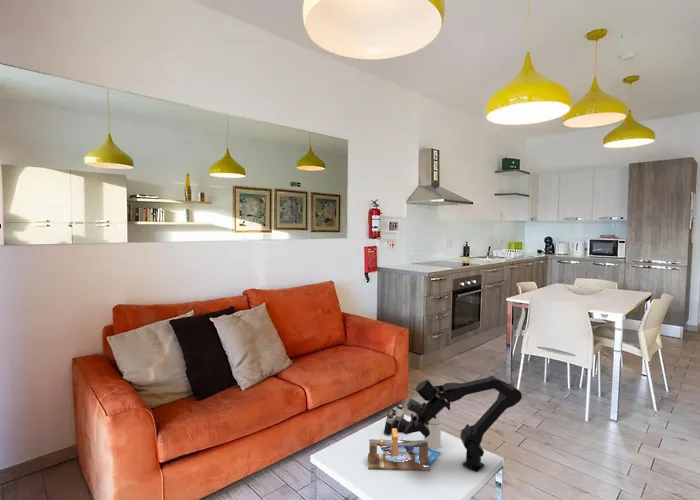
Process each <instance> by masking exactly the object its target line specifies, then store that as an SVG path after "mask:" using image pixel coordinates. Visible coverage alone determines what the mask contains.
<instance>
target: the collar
mask: <svg viewBox="0 0 700 500" xmlns="http://www.w3.org/2000/svg"><path fill="white" fill-rule="evenodd" d="M391 440H393V446H391V452H392V453H391V454H393V456H398V454H399V446H398V440H399V435H398V430H397V428H392V433H391Z"/></svg>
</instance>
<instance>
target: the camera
mask: <svg viewBox="0 0 700 500" xmlns="http://www.w3.org/2000/svg"><path fill="white" fill-rule="evenodd" d="M403 406H404V405H402V404H398V405H397V407H396V406H395V407H393V408H392V410H391V411H388V412H387V413H386V419H385V424H384V430H383V433H384V435H385V436H388V437H389V436H390V435H392V428H397V431H398V430H400V431H403V432H404V431H405V429H406V428H407V426H408V424H409V423H410V420H407V419H405V408H404V407H403Z"/></svg>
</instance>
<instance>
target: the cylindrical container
mask: <svg viewBox="0 0 700 500" xmlns="http://www.w3.org/2000/svg"><path fill="white" fill-rule="evenodd" d="M427 402H429V401H425V400H424V403H427ZM428 427H429V430H430V435H429V436H428V437H427V438H426V437H425V436H424V441H427V442H428V449H429V448H430V449H434V450H436V449H440V447H441V445H442V444H441V442H442V439H441V438H442V437H441V435H442V410H441V411H440V412H439V413H438V414H437V415H436V418H435V419H434V418H432V419H431V420H430V421H429V425H428Z"/></svg>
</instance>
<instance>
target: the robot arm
mask: <svg viewBox="0 0 700 500" xmlns="http://www.w3.org/2000/svg"><path fill="white" fill-rule="evenodd" d="M493 389H494V390H496V391H497V392H498V395H497V399H496V400H495V401H494V402H492V404H491V406H489V408H488V409H487V410H486V411H485V412H484V413H483V414H482V415H481V417H480V418H479V419H478V420H477V421H476V422H475V423H474V424H473V425H469V424H468V423H467V424H466V425H465V427H464V428H463V429H461V432H460V435H459V436H460V438H459V439H460V440H461V443H462V445H463V447H464V448H465V450H466V454H465V455H466V456H465V461H464V462H462V465H463V466H464V467H466V468H468V469H470V470H472V471H474V472H476V473H477V472H479V471H480V470H481V469H482V468H483V467H484V466H485V464H484V463H482V457H483V456H484V454H485V451H484V449H483V448H482V446H481V443H482V441H483V438H484V437H483V436H484V434H486V432H487V431H488V430H489V429H490V428H491V427H492V426H493V424H494V423H495V422H496V421H497V420H498V419H499V418H500V417H501V415H503V413H504V412H505V411H506V410H508V409H509V408H512V407H514V406H516V405H517V404H518V403H520V402H521V401H522V399H523V398H522V396H523V395H522V392H521V391H520V390H519V389H518V388H517V387H516V386H515V384H513V383H509V382H508V383H507V382H505V381H503V380H502V379H499V378H497V377H496V376H494V375H490V376H488V377H485V378H480V379H476V380H471V381H467V382H463V383H460V382H445V383H444V384H442V385H434V384H432V382H431V381H430V380H429V379H426V380H423V381H421V382H419V383H418V384H417V385H416V387H415V391H416V392H417V394H418V395H419V396H420V397H421V398H422V399H423V400H424V402H423V403H420V402H419V401H416V400H415V399H413V398H409V399H408V402H407V404H406V407H407V408H406V409H407V410H408V411H410V412H413V413H410V420H409V422H410V423H409V424H408V426H407V428H406V429H405V431H403V433H404V434H405V435H409V434H414V433H418V432H420V433H421V434H422V436H423V437H424V438H425V437H426V438H427V437H428V436H429V435H430V430H429V427H428V425H429V421H430V420H431V419H432V418H434V419H435V418H436V415H437V414H438V413H439V412H440V411H441V412H442V411H443V409H445V408H446V409H447V410H448V411H450V410H451V403H453V402H456V401H457V402H458V401H459V400H461V399H462V398H464V397H465V396H469V395H472V394H476V393H481V392H484V391H485V392H486V391H488V390H493ZM425 401H429V402H427V403H425Z"/></svg>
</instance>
